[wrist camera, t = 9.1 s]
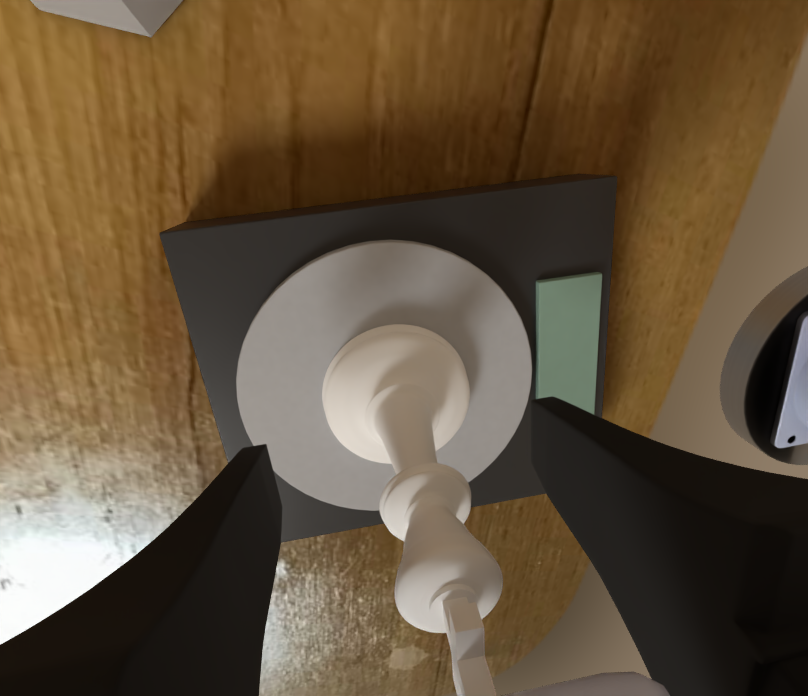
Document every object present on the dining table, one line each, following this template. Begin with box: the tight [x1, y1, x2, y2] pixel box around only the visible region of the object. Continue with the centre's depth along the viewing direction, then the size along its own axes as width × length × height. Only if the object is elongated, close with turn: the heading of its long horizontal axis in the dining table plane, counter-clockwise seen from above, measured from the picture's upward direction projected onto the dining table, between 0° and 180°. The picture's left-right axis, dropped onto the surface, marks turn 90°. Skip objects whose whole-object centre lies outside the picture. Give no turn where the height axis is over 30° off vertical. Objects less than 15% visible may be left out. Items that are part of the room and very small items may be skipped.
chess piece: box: [322, 324, 503, 696], centre depth 11 cm, size 5×5×10 cm
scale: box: [160, 174, 617, 542], centre depth 17 cm, size 14×12×3 cm
